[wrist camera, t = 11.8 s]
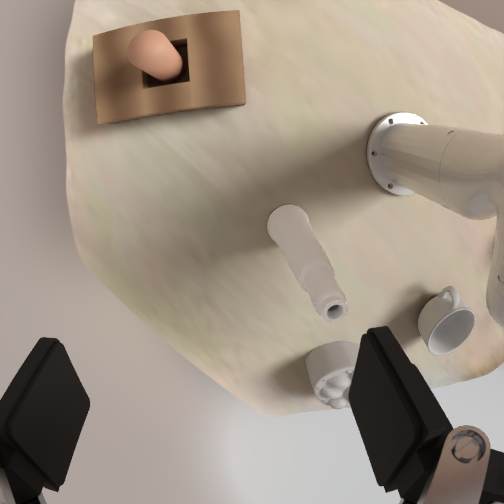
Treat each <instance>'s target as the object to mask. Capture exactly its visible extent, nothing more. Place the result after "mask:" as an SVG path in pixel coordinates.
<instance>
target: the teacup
mask: <svg viewBox="0 0 504 504" xmlns="http://www.w3.org/2000/svg"><path fill="white" fill-rule="evenodd" d="M447 293H449V294H447ZM474 326H475V314H474V312H473V311H472V310H471V309H469V308H468V307H467V306H466V304H465V303H464V302H463V301H462V300H461V299H460V298H459V294H458V292H457V290H456V289H455V288H454V287H453V286H448V287H446V288H444V289H443V290H442V292H440V293H439V294H438V296H436V297H434V298H432V299H431V300H430V301H429V302H428V303H427V304H426V305H425V306H424V308H423V309H422V311H421V313H420V315H419V318H418V330H419V333H420V335H421V337H422V339H423V340H424V342H425V344H426V345H427V347H428V350H429V351H430V352H431V353H432V354H434V355H438V356H439V355H445V354H449V353H451V352H453V351H455V350H456V349H457V348H459V347H460V346H461V345H462V344H463V343H464V342H465V341H466V340H467V339H468V337H469V336H470V334H471V333H472V331H473V329H474Z"/></svg>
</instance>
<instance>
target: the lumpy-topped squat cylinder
mask: <svg viewBox="0 0 504 504" xmlns="http://www.w3.org/2000/svg"><path fill="white" fill-rule="evenodd" d="M359 347H360V344H357V343H353V342H348V341H337V342H332V343H327V344H324V345H322V346H319V347H317V348H316V349H314V350H312V351H311V352H310V353H309V354H308V356H307V357H306V361H305V364H306V368H307V372H308V375H309V378H310V382H311V385H312V388H313V392H314V395H315V396H316V398H317V399H318V400H319V401H321V402H322V403H323V404H326V405H330V406H331V407H332V408H334V409H341V408H343V407H351V406H350V403H349V398H348V393H349V389H350V385H351V381H352V377H353V373H354V369H355V365H356V360H357V356H358V352H359Z"/></svg>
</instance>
